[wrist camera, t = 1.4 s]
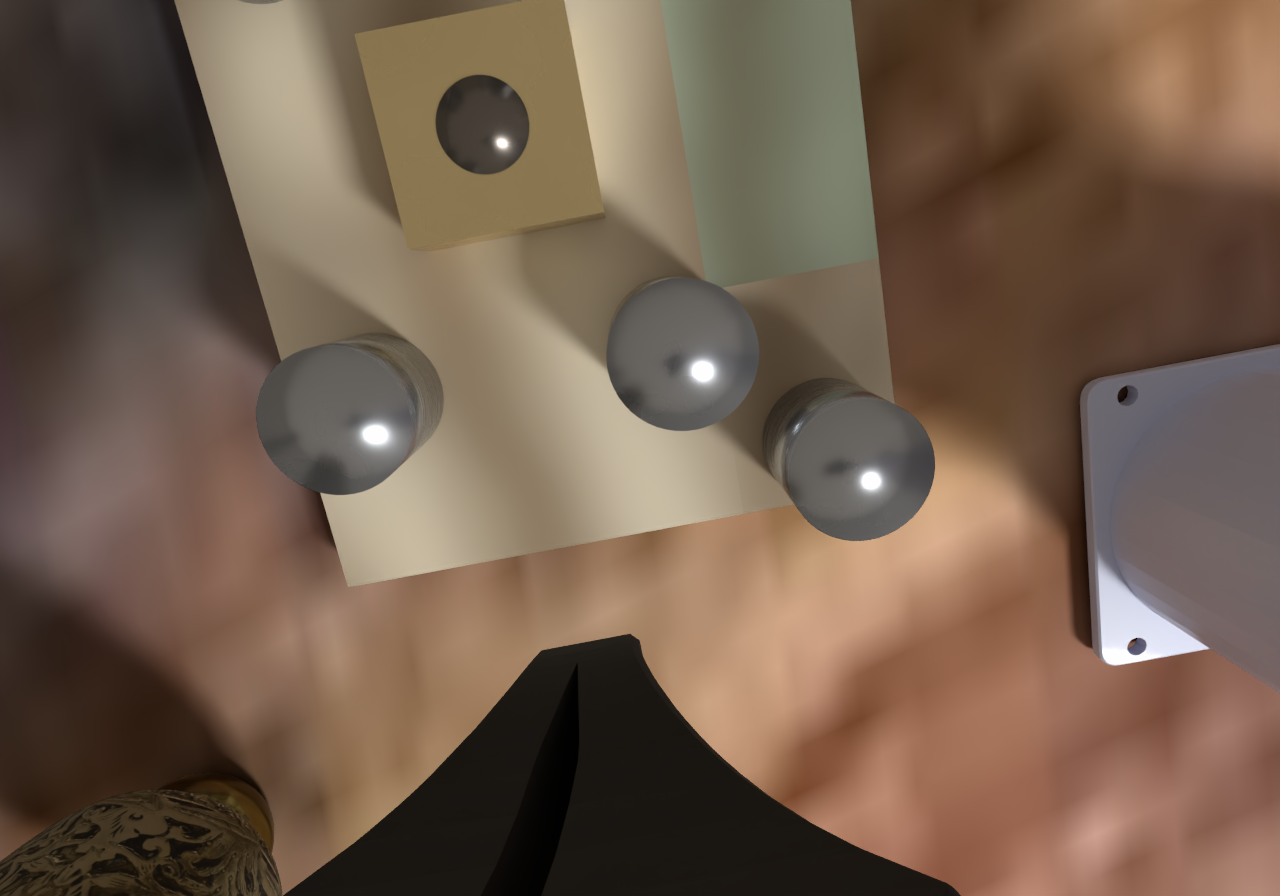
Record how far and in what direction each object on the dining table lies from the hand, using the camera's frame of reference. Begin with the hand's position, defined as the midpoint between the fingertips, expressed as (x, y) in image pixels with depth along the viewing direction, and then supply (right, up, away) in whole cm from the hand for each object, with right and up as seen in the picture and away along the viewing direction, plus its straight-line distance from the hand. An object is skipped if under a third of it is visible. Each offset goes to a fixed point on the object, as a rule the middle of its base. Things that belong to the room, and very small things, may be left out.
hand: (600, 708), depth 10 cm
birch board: (-2, +11, +8) cm, 13 cm away
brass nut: (-3, +10, +6) cm, 12 cm away
